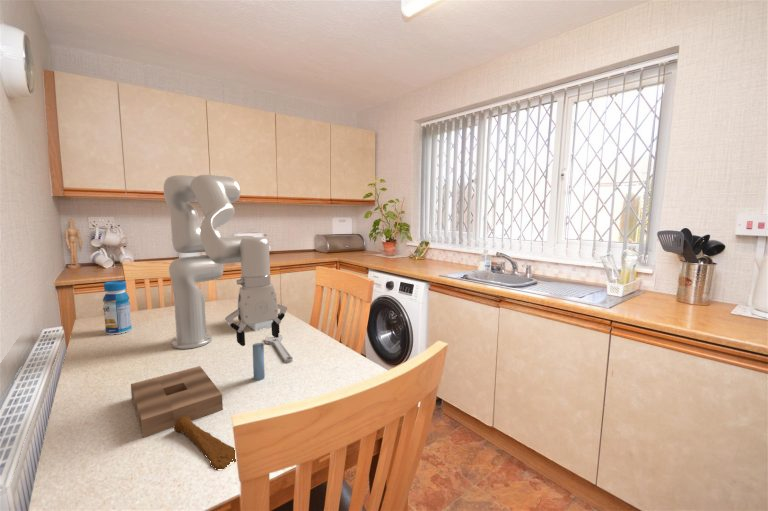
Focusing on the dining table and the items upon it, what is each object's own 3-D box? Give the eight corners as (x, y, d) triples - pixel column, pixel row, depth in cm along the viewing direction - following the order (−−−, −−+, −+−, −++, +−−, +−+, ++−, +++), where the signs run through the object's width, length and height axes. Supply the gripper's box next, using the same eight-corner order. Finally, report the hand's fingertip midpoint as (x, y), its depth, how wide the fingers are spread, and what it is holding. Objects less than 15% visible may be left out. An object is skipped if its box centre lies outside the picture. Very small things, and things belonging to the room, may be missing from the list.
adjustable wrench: (294, 363, 110) (293, 358, 110) (273, 367, 107) (273, 361, 107) (281, 337, 132) (281, 332, 132) (263, 339, 129) (263, 335, 129)
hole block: (131, 398, 87) (130, 384, 86) (200, 379, 97) (199, 365, 97) (143, 437, 72) (141, 420, 72) (222, 409, 83) (222, 394, 82)
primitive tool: (245, 456, 67) (244, 440, 67) (219, 475, 63) (218, 458, 62) (189, 425, 77) (188, 411, 77) (164, 439, 72) (162, 424, 72)
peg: (252, 377, 99) (250, 344, 98) (262, 374, 101) (261, 342, 100) (256, 381, 97) (254, 347, 95) (266, 378, 99) (265, 345, 97)
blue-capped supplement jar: (131, 332, 133) (127, 282, 131) (104, 336, 129) (99, 285, 126) (132, 326, 140) (128, 279, 138) (106, 330, 136) (102, 281, 133)
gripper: (228, 287, 87) (232, 352, 88) (291, 279, 98) (293, 336, 100) (219, 283, 92) (222, 344, 94) (279, 276, 104) (281, 330, 105)
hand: (259, 340), depth 97 cm, fingers open, 9 cm apart
